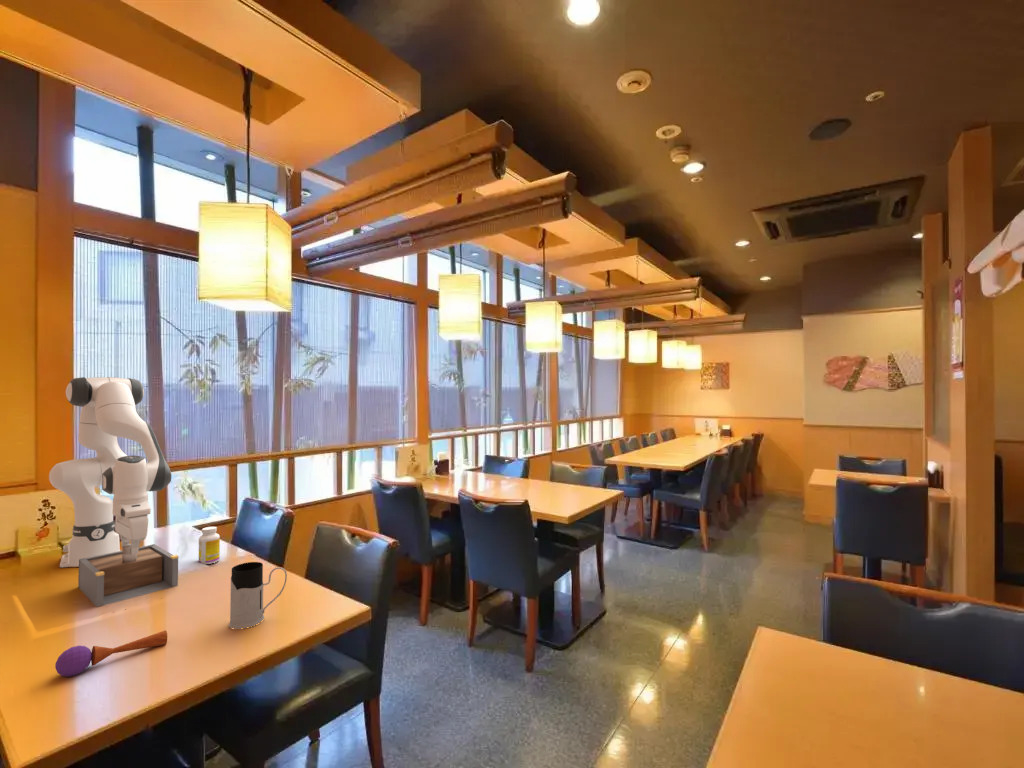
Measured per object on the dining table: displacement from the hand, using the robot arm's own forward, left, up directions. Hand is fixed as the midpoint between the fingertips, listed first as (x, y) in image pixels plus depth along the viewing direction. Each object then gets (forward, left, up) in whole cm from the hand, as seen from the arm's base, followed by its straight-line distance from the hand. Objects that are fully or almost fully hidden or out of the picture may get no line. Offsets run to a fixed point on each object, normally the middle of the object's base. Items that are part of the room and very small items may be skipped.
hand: (129, 550), depth 152 cm
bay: (-1, 0, -13) cm, 13 cm away
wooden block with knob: (-4, 0, -12) cm, 12 cm away
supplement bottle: (-9, +26, -13) cm, 30 cm away
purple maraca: (+48, -14, -13) cm, 52 cm away
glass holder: (+54, +16, -13) cm, 58 cm away
